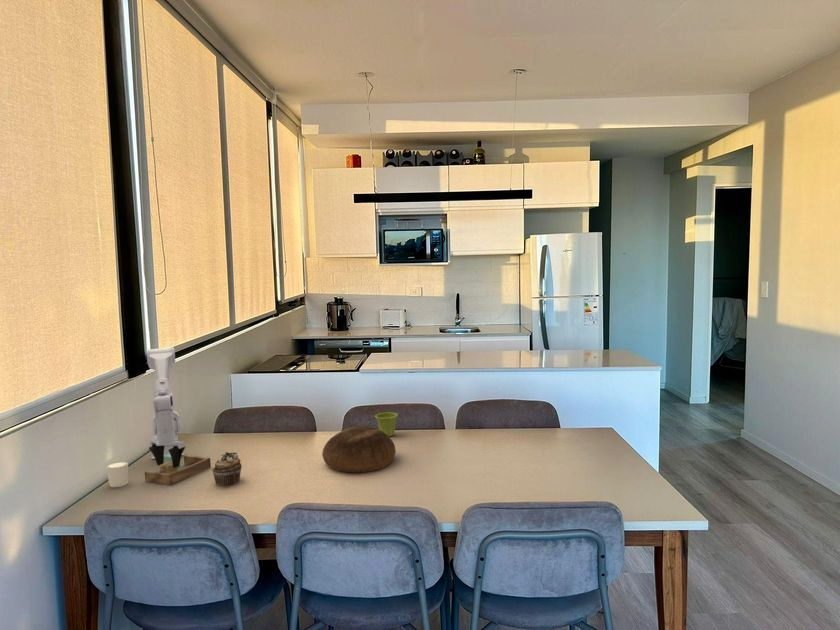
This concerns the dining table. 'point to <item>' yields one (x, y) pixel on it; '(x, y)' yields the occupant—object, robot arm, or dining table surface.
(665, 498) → the dining table surface
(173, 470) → the oak block
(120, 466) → the white cylinder
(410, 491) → the dining table surface
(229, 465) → the cupcake
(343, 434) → the bread
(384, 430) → the plant pot
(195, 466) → the corral
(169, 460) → the teal block
